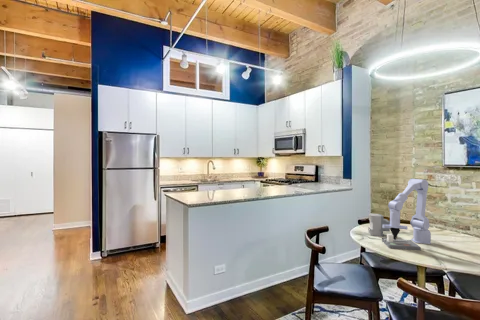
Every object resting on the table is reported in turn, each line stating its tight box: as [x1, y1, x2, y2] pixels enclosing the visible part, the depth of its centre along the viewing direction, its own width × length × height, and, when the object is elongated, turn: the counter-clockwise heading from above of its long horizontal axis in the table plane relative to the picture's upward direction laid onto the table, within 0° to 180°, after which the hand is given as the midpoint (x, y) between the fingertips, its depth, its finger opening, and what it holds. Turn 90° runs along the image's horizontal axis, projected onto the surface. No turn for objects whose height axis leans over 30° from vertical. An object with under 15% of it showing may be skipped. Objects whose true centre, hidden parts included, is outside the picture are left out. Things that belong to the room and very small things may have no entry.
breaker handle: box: [386, 233, 394, 242], centre depth 171 cm, size 3×3×5 cm
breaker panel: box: [381, 237, 422, 251], centre depth 170 cm, size 18×14×3 cm
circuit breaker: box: [367, 213, 391, 237], centre depth 193 cm, size 8×14×15 cm, turn 78°
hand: (394, 239), depth 170 cm, fingers closed
